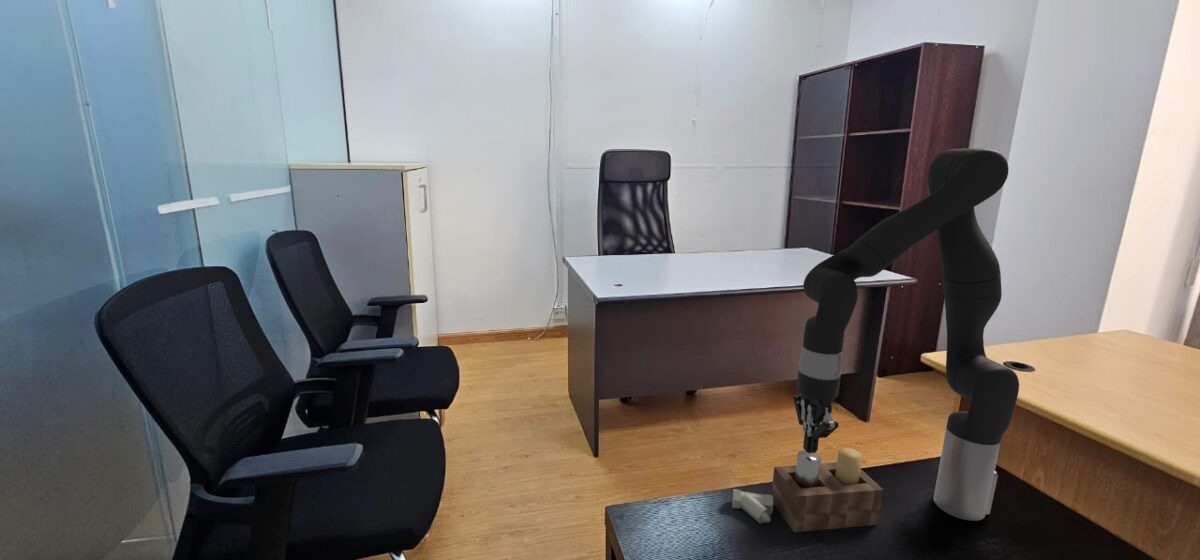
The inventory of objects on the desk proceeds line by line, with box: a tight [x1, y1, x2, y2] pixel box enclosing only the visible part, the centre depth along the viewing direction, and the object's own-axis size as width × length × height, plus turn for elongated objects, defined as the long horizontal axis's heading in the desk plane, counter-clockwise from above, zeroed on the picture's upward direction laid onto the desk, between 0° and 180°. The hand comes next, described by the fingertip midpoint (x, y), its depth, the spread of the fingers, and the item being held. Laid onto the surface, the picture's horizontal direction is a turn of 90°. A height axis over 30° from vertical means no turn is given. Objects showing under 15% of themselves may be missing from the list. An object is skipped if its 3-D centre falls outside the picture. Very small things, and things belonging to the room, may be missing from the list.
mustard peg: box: [835, 447, 863, 485], centre depth 107 cm, size 4×4×8 cm
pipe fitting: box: [731, 488, 774, 524], centre depth 107 cm, size 8×4×7 cm
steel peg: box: [795, 450, 822, 488], centre depth 106 cm, size 4×4×8 cm
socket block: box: [770, 461, 884, 533], centre depth 107 cm, size 18×10×8 cm, turn 98°
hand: (809, 450), depth 104 cm, fingers closed
